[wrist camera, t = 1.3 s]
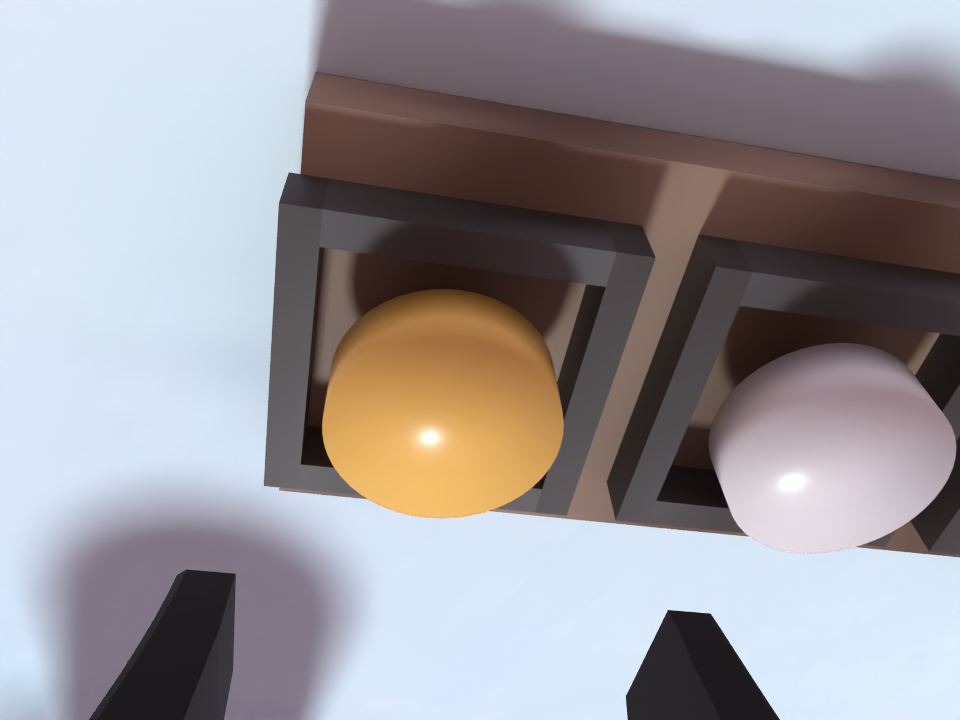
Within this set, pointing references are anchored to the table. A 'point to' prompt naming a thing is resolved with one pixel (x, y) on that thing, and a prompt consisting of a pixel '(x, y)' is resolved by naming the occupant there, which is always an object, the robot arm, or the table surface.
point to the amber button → (442, 405)
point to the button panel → (608, 282)
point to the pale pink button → (829, 448)
